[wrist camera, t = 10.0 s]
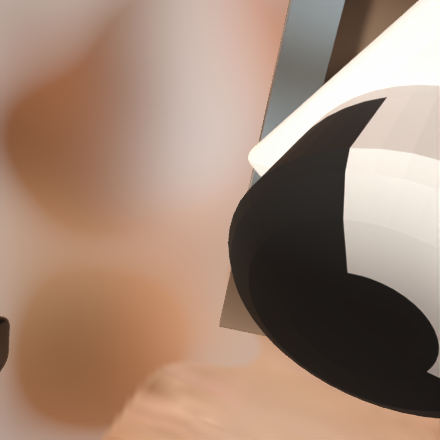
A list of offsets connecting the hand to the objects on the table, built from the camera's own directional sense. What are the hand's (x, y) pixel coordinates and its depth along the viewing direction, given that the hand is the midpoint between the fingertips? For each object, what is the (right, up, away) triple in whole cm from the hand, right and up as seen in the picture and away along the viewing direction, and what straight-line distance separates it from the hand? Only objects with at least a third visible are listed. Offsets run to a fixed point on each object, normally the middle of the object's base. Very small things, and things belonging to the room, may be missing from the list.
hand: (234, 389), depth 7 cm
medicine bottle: (+9, +8, +7) cm, 14 cm away
